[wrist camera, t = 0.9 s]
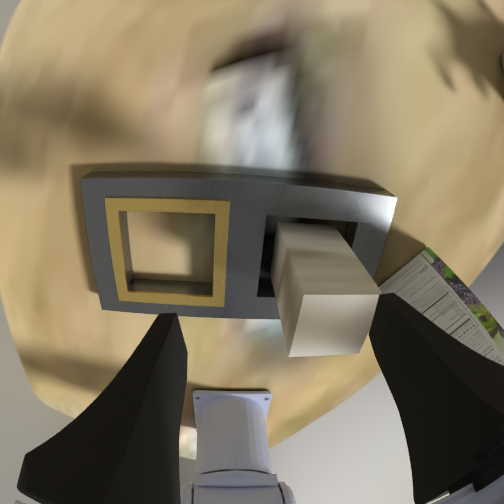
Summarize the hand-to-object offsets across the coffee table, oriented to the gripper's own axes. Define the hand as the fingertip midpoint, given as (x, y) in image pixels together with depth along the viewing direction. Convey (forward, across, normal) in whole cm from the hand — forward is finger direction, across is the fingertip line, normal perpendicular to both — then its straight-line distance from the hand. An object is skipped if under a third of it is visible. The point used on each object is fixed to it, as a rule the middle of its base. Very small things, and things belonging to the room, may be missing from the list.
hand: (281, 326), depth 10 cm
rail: (+10, +2, +2) cm, 11 cm away
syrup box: (+11, -13, +8) cm, 19 cm away
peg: (+10, -3, +3) cm, 11 cm away
